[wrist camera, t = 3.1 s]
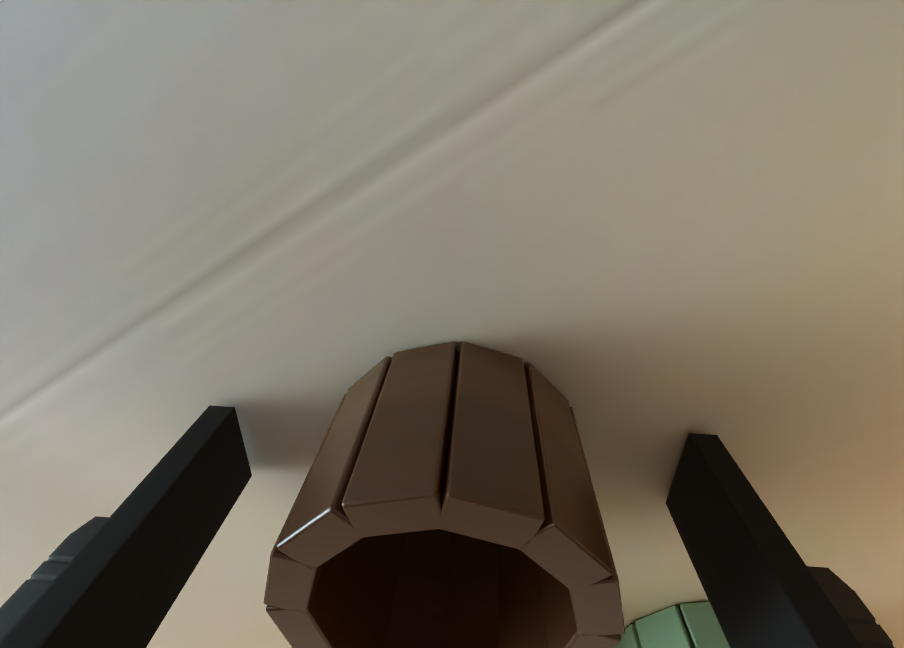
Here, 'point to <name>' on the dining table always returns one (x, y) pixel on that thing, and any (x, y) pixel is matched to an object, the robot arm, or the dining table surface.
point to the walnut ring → (447, 516)
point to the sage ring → (676, 629)
